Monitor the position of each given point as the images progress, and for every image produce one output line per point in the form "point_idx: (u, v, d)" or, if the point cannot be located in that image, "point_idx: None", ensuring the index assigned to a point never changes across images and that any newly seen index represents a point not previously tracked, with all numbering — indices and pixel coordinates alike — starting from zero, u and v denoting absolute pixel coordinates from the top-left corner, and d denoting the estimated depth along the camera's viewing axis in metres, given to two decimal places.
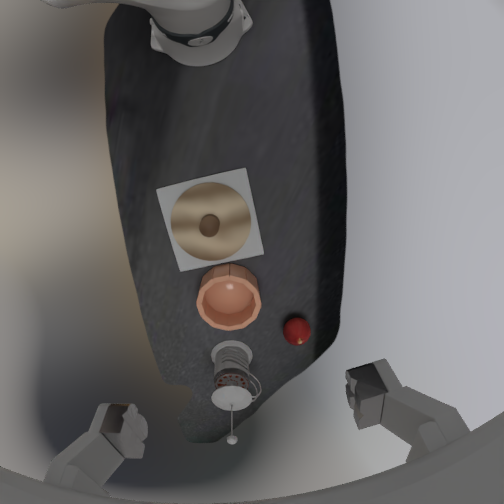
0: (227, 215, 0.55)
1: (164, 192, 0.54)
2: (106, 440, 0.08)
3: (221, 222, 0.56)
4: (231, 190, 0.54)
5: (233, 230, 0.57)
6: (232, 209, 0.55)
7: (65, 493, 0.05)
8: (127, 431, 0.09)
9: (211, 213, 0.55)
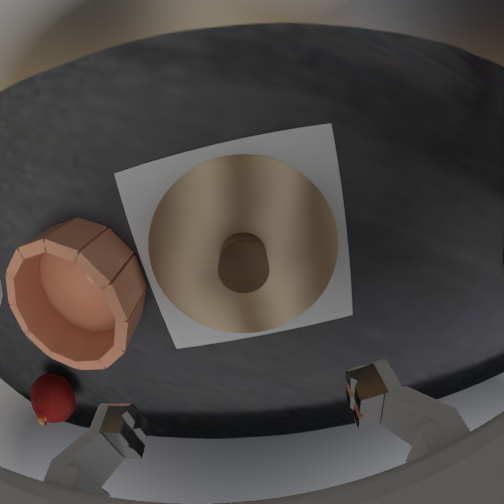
0: (260, 290, 0.25)
1: (322, 143, 0.21)
2: (106, 440, 0.08)
3: None
4: (316, 297, 0.25)
5: (226, 302, 0.25)
6: (274, 299, 0.25)
7: (65, 493, 0.05)
8: (127, 431, 0.09)
9: (267, 257, 0.24)
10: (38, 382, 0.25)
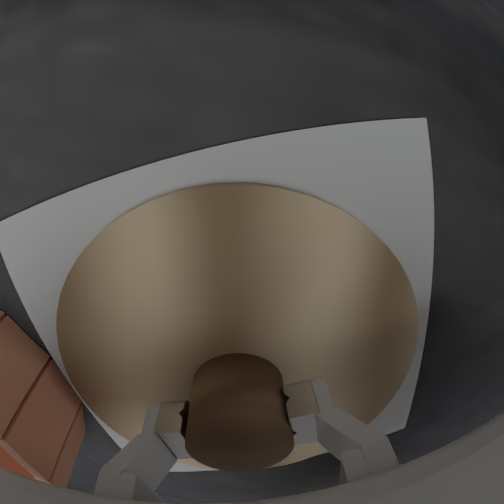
0: None
1: (410, 160, 0.09)
2: (162, 441, 0.08)
3: None
4: None
5: None
6: None
7: (65, 493, 0.05)
8: (185, 430, 0.09)
9: None
10: None
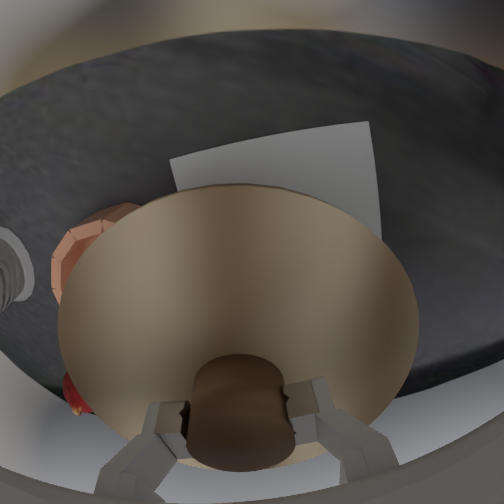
0: None
1: (361, 138, 0.23)
2: (162, 441, 0.08)
3: None
4: None
5: None
6: None
7: (65, 493, 0.05)
8: (185, 429, 0.09)
9: None
10: None
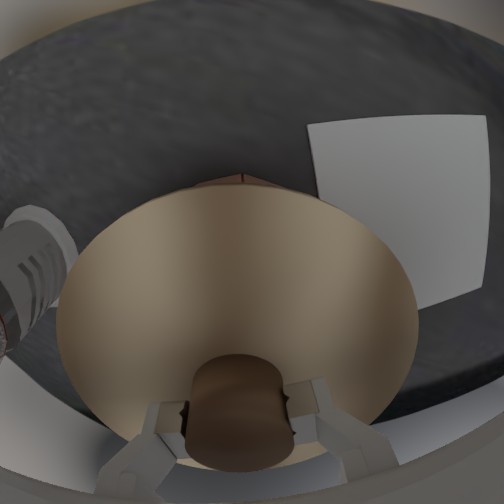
0: None
1: (480, 131, 0.19)
2: (162, 441, 0.08)
3: None
4: None
5: None
6: None
7: (65, 493, 0.05)
8: (185, 430, 0.09)
9: None
10: None
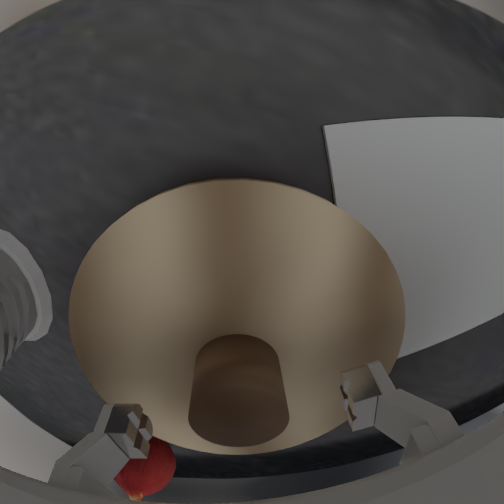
0: None
1: None
2: (111, 440, 0.08)
3: None
4: None
5: None
6: (290, 419, 0.14)
7: (65, 493, 0.05)
8: (132, 431, 0.09)
9: (281, 371, 0.12)
10: None
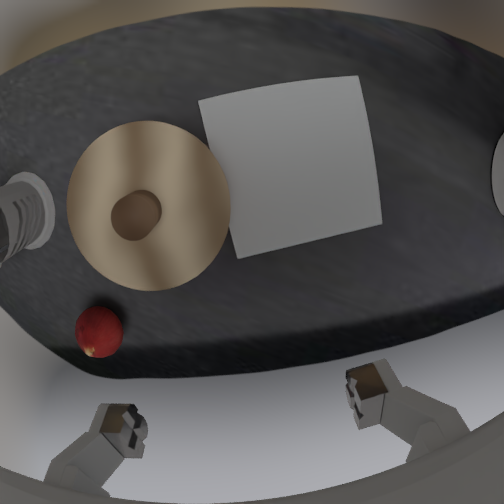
0: (160, 246, 0.25)
1: (353, 88, 0.27)
2: (106, 440, 0.08)
3: None
4: (215, 251, 0.26)
5: (132, 258, 0.26)
6: (175, 254, 0.26)
7: (65, 493, 0.05)
8: (127, 431, 0.09)
9: (163, 212, 0.24)
10: (86, 312, 0.30)
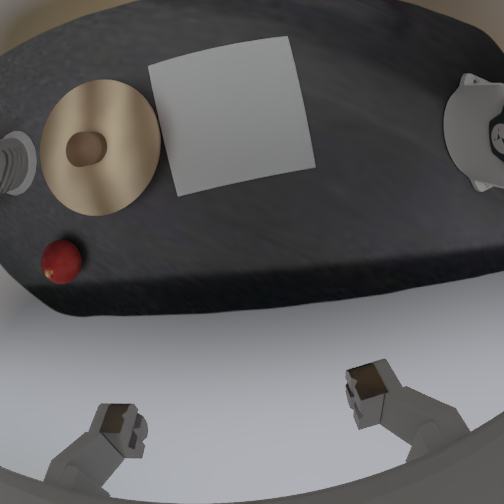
0: (105, 176, 0.29)
1: (282, 47, 0.30)
2: (106, 440, 0.08)
3: (94, 166, 0.28)
4: (146, 179, 0.29)
5: (84, 187, 0.29)
6: (116, 182, 0.29)
7: (65, 493, 0.05)
8: (127, 431, 0.09)
9: (107, 148, 0.27)
10: (52, 243, 0.33)
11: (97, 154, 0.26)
